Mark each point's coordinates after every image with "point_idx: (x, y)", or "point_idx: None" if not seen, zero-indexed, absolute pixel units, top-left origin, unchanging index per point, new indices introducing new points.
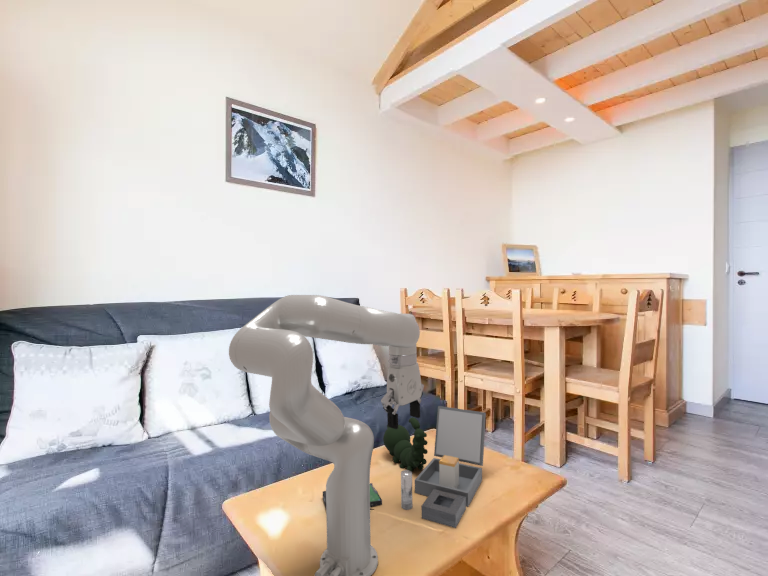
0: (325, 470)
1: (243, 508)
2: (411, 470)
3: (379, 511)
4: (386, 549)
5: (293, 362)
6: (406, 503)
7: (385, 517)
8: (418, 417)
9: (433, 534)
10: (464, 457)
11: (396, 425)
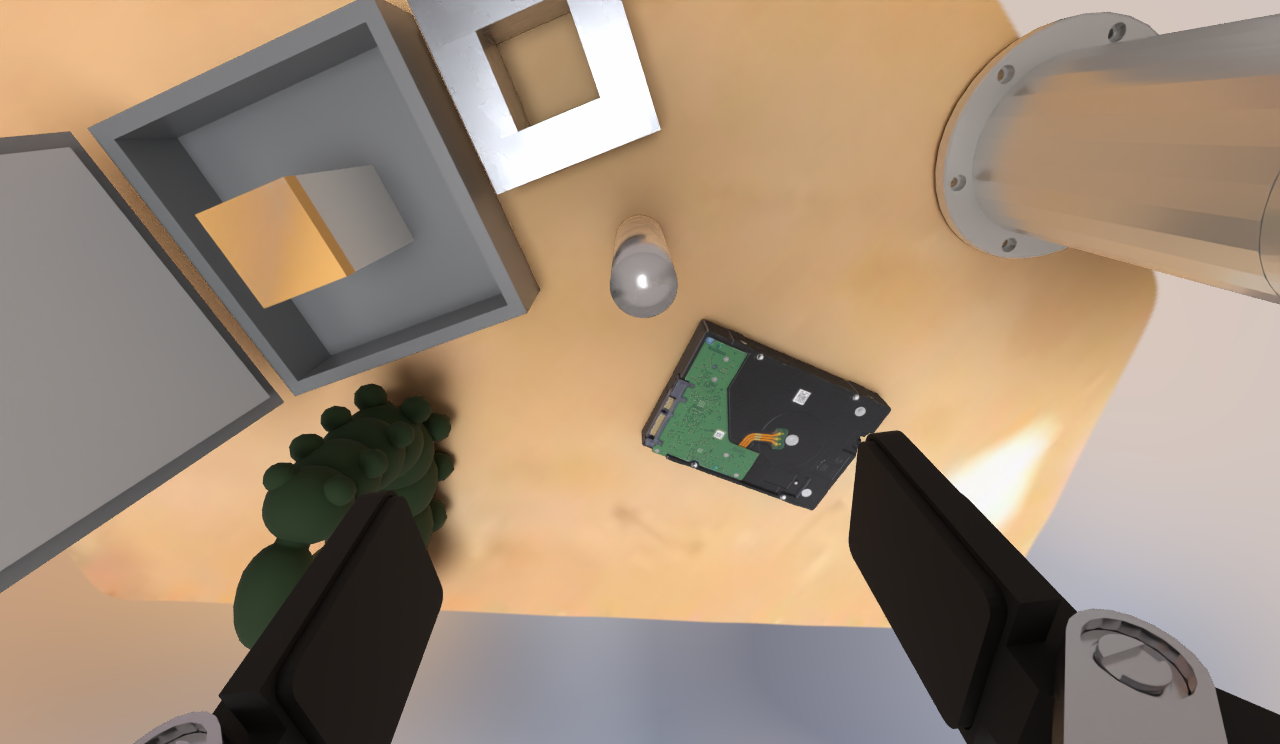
0: (677, 606)
1: None
2: (437, 414)
3: (728, 307)
4: (899, 101)
5: None
6: (660, 231)
7: (741, 262)
8: (394, 497)
9: (692, 13)
10: (133, 248)
11: (921, 462)
